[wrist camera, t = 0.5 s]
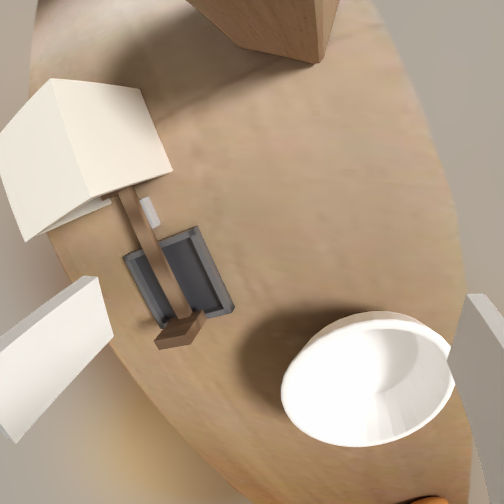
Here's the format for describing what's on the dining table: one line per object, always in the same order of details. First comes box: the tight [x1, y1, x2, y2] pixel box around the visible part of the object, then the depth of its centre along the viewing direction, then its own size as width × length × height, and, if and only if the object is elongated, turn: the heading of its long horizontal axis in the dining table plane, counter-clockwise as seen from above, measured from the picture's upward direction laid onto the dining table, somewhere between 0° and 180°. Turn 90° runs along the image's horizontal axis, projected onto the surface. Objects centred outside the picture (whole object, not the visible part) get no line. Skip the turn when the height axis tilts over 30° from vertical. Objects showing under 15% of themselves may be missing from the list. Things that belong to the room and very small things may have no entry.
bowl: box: [281, 311, 455, 447], centre depth 38 cm, size 22×22×8 cm
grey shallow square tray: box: [123, 226, 235, 329], centre depth 43 cm, size 12×12×2 cm
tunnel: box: [0, 78, 173, 242], centre depth 32 cm, size 18×12×16 cm
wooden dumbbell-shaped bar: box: [101, 183, 207, 350], centre depth 38 cm, size 21×7×8 cm, turn 23°
